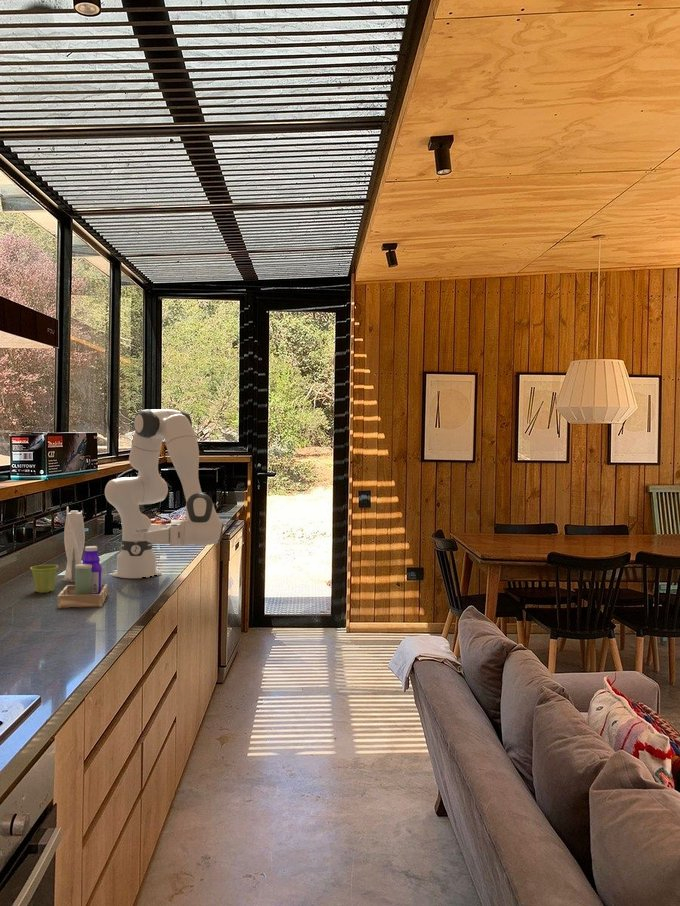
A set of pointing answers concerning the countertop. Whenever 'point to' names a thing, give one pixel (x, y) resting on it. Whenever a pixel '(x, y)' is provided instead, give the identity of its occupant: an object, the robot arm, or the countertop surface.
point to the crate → (81, 598)
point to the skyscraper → (73, 542)
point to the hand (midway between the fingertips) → (134, 533)
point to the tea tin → (83, 579)
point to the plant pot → (44, 577)
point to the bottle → (94, 568)
